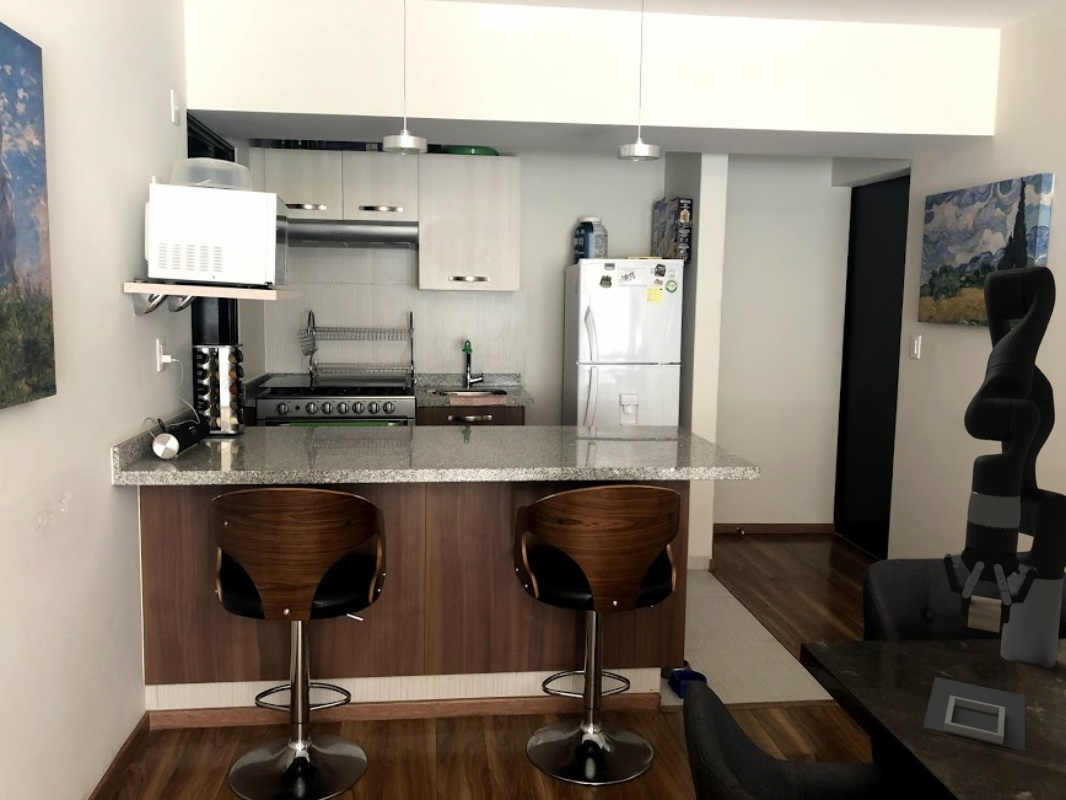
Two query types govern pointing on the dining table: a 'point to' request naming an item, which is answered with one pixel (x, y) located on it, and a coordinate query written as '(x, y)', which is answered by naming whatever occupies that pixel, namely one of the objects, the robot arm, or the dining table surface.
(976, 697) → the mat
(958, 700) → the slot frame
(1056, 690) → the dining table surface
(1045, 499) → the robot arm
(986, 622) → the tan rectangular block
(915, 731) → the dining table surface
